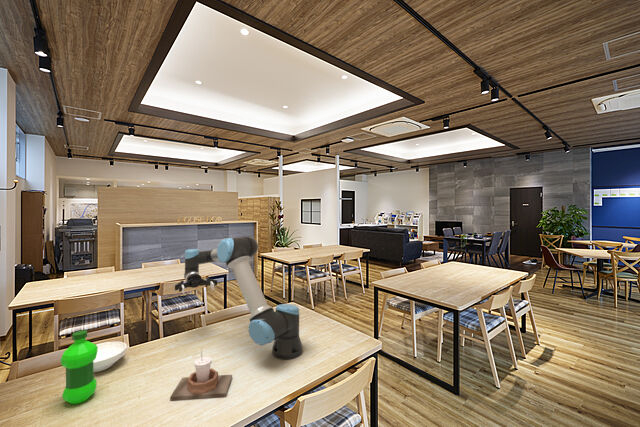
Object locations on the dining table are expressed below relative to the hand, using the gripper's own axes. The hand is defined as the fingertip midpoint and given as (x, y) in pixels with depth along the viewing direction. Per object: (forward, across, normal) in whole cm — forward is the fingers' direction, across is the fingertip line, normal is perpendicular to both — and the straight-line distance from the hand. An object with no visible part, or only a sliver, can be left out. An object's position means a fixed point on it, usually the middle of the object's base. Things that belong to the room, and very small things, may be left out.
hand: (198, 288), depth 138 cm
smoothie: (+30, +2, -31) cm, 43 cm away
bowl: (-9, +40, -32) cm, 52 cm away
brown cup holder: (+30, +2, -32) cm, 44 cm away
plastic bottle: (+14, +43, -32) cm, 55 cm away
